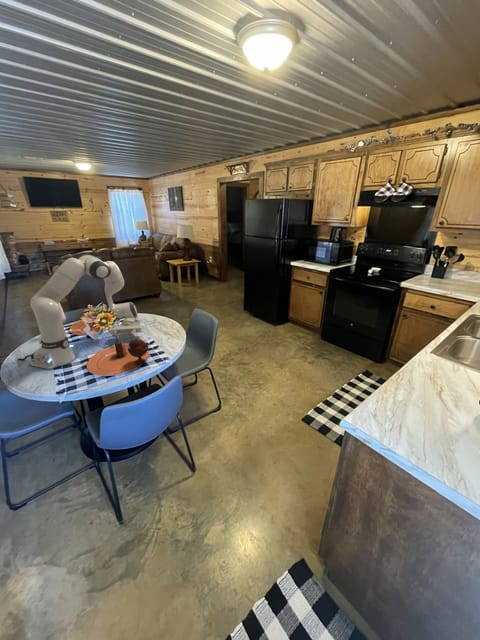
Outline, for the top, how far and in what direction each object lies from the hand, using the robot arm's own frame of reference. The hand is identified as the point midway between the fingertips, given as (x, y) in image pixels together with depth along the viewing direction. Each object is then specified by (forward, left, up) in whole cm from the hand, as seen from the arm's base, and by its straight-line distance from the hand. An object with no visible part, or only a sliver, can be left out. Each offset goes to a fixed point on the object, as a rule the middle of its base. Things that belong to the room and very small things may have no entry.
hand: (123, 334), depth 166 cm
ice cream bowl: (+18, -18, -8) cm, 27 cm away
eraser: (+3, -11, -8) cm, 14 cm away
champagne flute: (-49, +10, -8) cm, 50 cm away
